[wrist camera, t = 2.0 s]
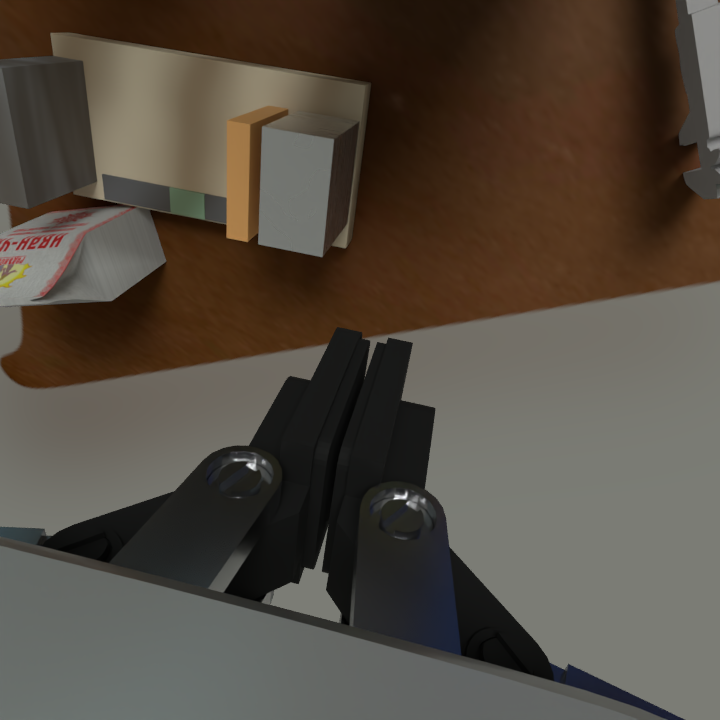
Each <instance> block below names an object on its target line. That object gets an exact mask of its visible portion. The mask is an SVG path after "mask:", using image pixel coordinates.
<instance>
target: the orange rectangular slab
mask: <svg viewBox="0 0 720 720" xmlns="http://www.w3.org/2000/svg"><path fill="white" fill-rule="evenodd" d="M287 115H288V109H286V108H281V107H275V106H269V105H268V106H266V107H263V108H260V109H257V110H254V111H251V112H249V113H246V114H243V115H240V116H237V117H235V118H232V119H229V120H227V238H230V239H235V240H240V241H244V242H248V241H249V240H251V239H252V238H253V237H254V236H255V235H256V234H257V233H259V204H260V173H261V143H262V126H264V125H267V124H269V123H271V122H274V121H276V120H278V119H281V118H283V117H285V116H287Z"/></svg>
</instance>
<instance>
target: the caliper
mask: <svg viewBox="0 0 720 720" xmlns="http://www.w3.org/2000/svg"><path fill="white" fill-rule="evenodd" d="M676 6H677V13H678V20H679V25H678V26H677V28H676V29H675V36H676V42H677V46H678V50H679V56H680V68H681V73H682V78H683V82H684V86H685V90H686V93H687V95H688V102H689V109H690V113H689V114H688V116H687V118H686V120H685V122H684V124H683V126H682V128H681V130H680V132H679V143H680V145H683V146H686V145H690V144H693V143H696V142H697V145H698V152H699V159H700V164H701V168H698V169H695V170H691V171H688V172H684V173H683V175H684V180H685V182H686V185H687V186H689V187H690V188H691V189H692V190H693V191H694V192H696V193H697V194H698V195H699V196H701V197H702V198H703V199H716V198H720V3H718V0H676Z"/></svg>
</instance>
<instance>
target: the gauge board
mask: <svg viewBox="0 0 720 720" xmlns="http://www.w3.org/2000/svg"><path fill="white" fill-rule="evenodd" d="M50 34H51V41H52V48H53V55H54V56H44V57H29V58H15V59H1V60H0V203H2V204H7V205H12V206H17V207H22V208H27V209H29V208H32V207H34V206H37V205H39V204H42V203H44V202H47V201H49V200H52V199H54V198H57V197H60V196H62V195H65V194H67V193H70V192H72V191H73V194H75V195H80V196H85V197H90V198H95V199H100V200H105V201H110V202H115V203H120V204H125V205H130V206H135V207H140V208H145V209H150V210H155V211H160V212H165V213H170V214H175V215H180V216H185V217H190V218H196V219H201V220H206V221H211V222H216V223H221V224H226V225H227V120H229V119H232V118H235V117H237V116H240V115H243V114H246V113H249V112H251V111H254V110H257V109H260V108H263V107H266V106H268V105H269V106H275V107H281V108H286V109H288V115H290V114H292V113H294V112H297V111H304V112H309V113H315V114H321V115H327V116H332V117H338V118H344V119H350V120H355V121H360V122H359V130H358V139H357V147H356V156H355V164H354V172H353V181H352V189H351V198H350V206H349V214H348V223H347V225H346V226H345V228H344V229H343V230H342V232H341V233H340V234H339V236H338V237H337V238H336V240H335V241H334V242H333V244H332V245H331V246H336V247H341V248H346V247H347V246H348V244H349V243H350V241H351V240H352V234H353V226H354V218H355V210H356V202H357V194H358V186H359V178H360V170H361V162H362V154H363V146H364V138H365V130H366V122H367V114H368V106H369V98H370V90H371V83H370V82H364V81H358V80H352V79H346V78H340V77H334V76H328V75H322V74H316V73H310V72H303V71H297V70H291V69H285V68H279V67H273V66H267V65H261V64H255V63H249V62H243V61H237V60H231V59H225V58H219V57H213V56H207V55H201V54H195V53H189V52H183V51H177V50H171V49H165V48H159V47H153V46H147V45H141V44H135V43H129V42H123V41H117V40H111V39H105V38H99V37H93V36H87V35H81V34H75V33H50Z"/></svg>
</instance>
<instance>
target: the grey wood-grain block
mask: <svg viewBox="0 0 720 720" xmlns="http://www.w3.org/2000/svg"><path fill="white" fill-rule="evenodd" d="M359 122H360V121H355V120H350V119H344V118H338V117H332V116H327V115H321V114H315V113H309V112H304V111H297V112H294V113H292V114H290V115H287V116H285V117H283V118H281V119H278V120H276V121H274V122H271V123H269V124H267V125H264V126H262V143H261V173H260V204H259V235H258V244H259V245H264V246H269V247H274V248H279V249H284V250H289V251H294V252H299V253H304V254H309V255H314V256H319V257H323V256H324V255H325V253H326V252H327V251H328V249H329V248H330V246H331V245H332V244H333V242H334V241H335V240H336V238H337V237H338V236H339V234H340V233H341V232H342V230H343V229H344V228H345V226H346V225H347V223H348V214H349V206H350V198H351V189H352V181H353V172H354V164H355V156H356V147H357V139H358V130H359Z"/></svg>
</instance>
